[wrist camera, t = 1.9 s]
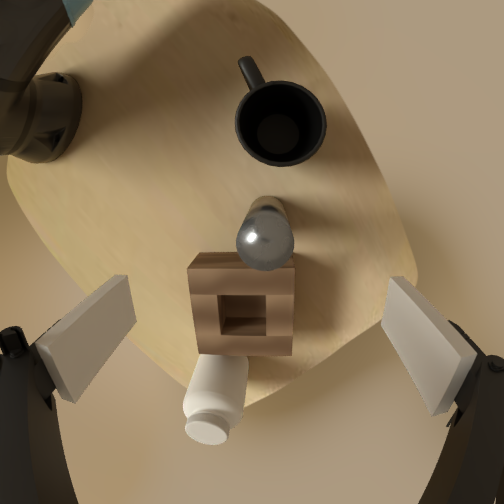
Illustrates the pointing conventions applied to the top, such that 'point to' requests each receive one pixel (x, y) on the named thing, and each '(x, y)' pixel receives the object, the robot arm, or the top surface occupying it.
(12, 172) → the top surface
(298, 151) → the mug
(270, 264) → the peg
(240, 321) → the socket block
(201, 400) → the pill bottle
